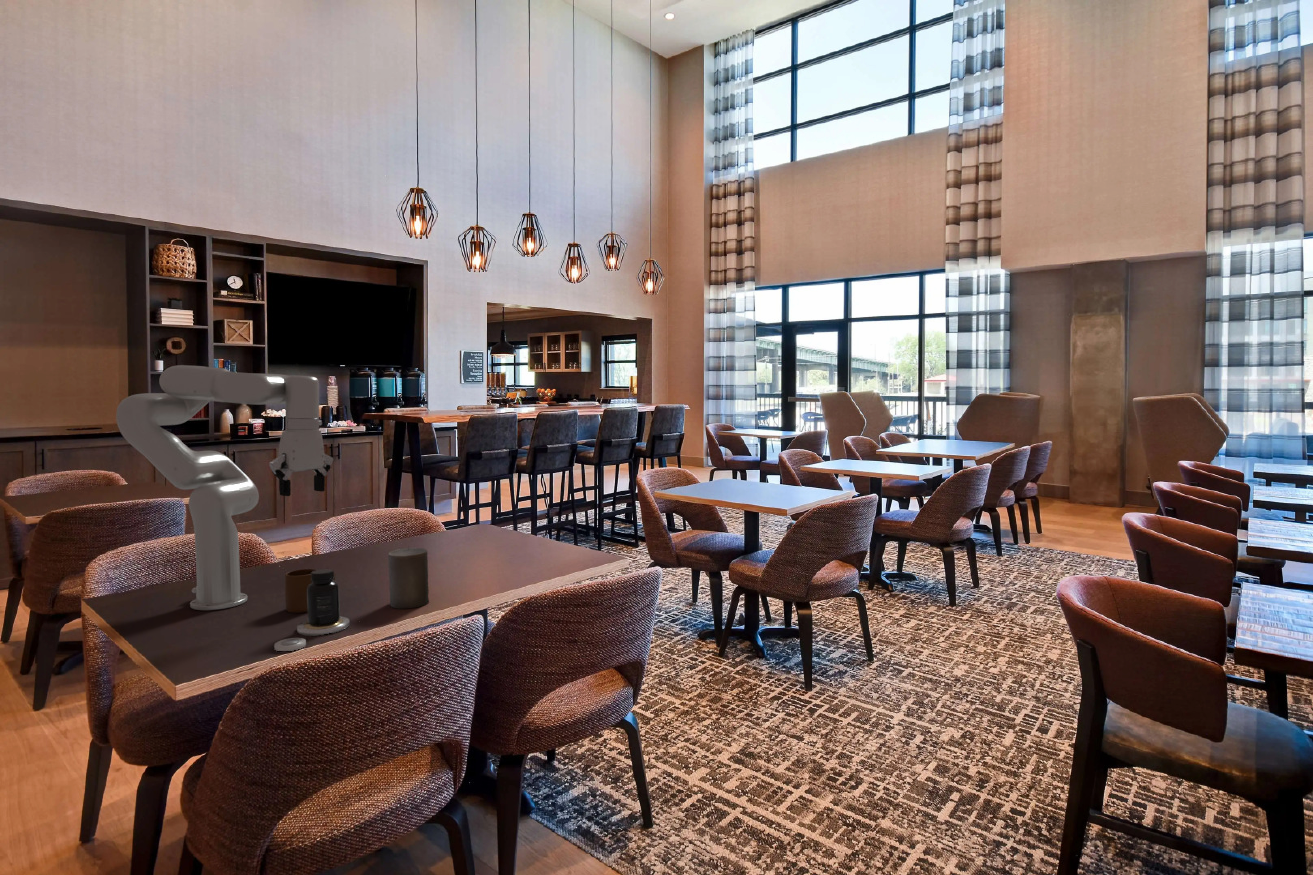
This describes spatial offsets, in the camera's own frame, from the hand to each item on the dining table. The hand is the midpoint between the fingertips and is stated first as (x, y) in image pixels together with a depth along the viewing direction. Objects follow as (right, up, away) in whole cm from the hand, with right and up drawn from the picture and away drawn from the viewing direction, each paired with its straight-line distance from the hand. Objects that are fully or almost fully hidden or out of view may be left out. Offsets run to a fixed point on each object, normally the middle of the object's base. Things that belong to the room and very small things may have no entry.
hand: (302, 493), depth 179 cm
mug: (+1, -29, +2) cm, 30 cm away
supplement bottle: (+11, -29, -13) cm, 34 cm away
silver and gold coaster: (+12, -30, -13) cm, 35 cm away
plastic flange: (+10, -31, -26) cm, 42 cm away
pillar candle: (+25, -29, +6) cm, 39 cm away
